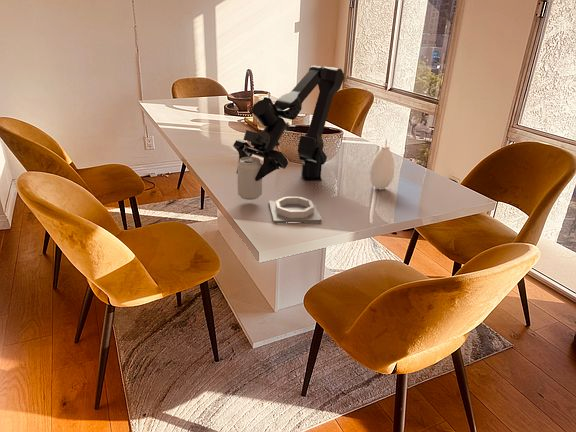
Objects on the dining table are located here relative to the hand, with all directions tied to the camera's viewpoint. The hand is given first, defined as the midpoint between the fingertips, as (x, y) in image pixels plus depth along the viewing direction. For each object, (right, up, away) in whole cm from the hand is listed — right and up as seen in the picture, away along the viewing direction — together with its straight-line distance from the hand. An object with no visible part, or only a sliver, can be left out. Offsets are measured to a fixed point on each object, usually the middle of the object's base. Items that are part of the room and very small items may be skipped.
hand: (246, 177), depth 136 cm
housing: (+14, -11, 0) cm, 18 cm away
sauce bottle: (+45, -3, +20) cm, 49 cm away
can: (+1, -6, +4) cm, 7 cm away
